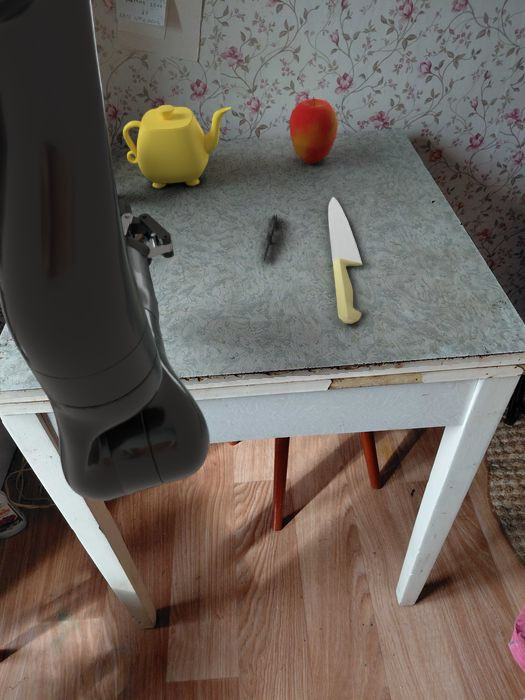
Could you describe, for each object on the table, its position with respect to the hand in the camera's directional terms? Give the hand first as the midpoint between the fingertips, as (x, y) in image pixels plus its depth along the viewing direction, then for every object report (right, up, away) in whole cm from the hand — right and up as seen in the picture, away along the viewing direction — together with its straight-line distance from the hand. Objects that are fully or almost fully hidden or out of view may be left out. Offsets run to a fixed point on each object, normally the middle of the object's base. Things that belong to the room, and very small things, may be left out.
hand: (102, 210), depth 61 cm
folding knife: (+20, +1, +24) cm, 31 cm away
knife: (+31, -1, +21) cm, 38 cm away
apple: (+28, +21, +43) cm, 55 cm away
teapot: (+3, +17, +41) cm, 44 cm away
